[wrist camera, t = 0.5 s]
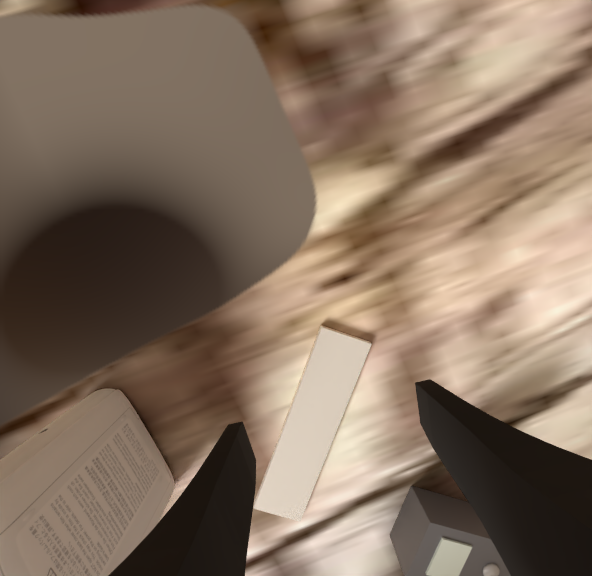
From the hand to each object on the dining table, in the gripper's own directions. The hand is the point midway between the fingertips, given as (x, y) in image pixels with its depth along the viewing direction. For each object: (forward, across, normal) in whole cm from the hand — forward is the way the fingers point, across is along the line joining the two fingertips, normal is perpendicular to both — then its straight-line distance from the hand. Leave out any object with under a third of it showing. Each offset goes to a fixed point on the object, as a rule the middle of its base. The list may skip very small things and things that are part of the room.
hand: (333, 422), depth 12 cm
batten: (+9, +2, +8) cm, 13 cm away
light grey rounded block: (+10, +16, +6) cm, 20 cm away
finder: (+8, -7, +20) cm, 23 cm away
